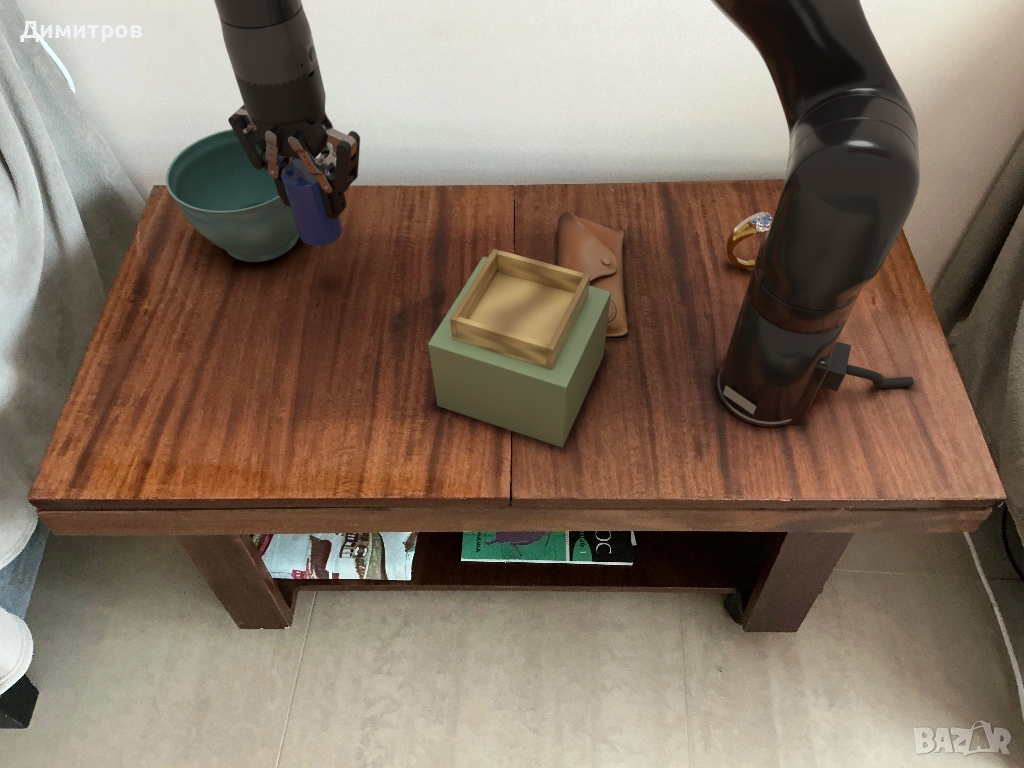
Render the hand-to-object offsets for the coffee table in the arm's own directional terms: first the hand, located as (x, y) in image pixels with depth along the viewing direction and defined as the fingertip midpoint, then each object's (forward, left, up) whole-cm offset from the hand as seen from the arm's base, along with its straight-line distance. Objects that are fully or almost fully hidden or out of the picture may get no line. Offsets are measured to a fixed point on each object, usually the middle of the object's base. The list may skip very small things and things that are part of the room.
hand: (314, 207), depth 83 cm
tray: (-26, +5, -2) cm, 27 cm away
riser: (-26, +5, -12) cm, 29 cm away
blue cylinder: (0, 0, -3) cm, 3 cm away
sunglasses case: (-28, -12, -12) cm, 33 cm away
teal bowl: (+13, -4, -12) cm, 18 cm away
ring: (-45, -21, -12) cm, 51 cm away
